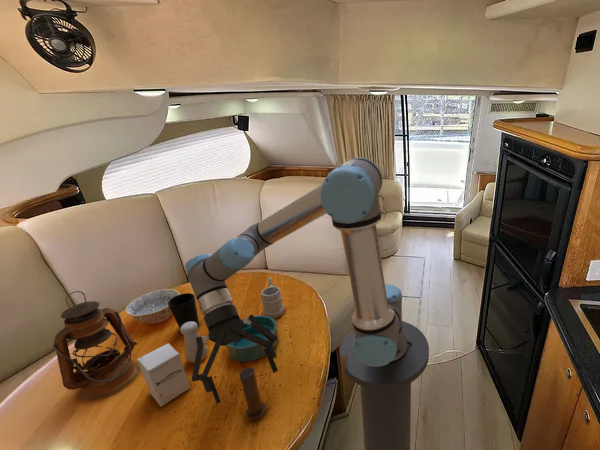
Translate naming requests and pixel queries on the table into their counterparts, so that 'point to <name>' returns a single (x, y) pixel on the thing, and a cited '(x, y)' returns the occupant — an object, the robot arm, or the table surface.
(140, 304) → the bowl
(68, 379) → the lantern
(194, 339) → the salt shaker
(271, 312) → the mug
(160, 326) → the table surface
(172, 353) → the white packaging box
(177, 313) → the cup
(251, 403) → the walnut stirrer
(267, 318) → the teal bowl
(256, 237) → the robot arm
